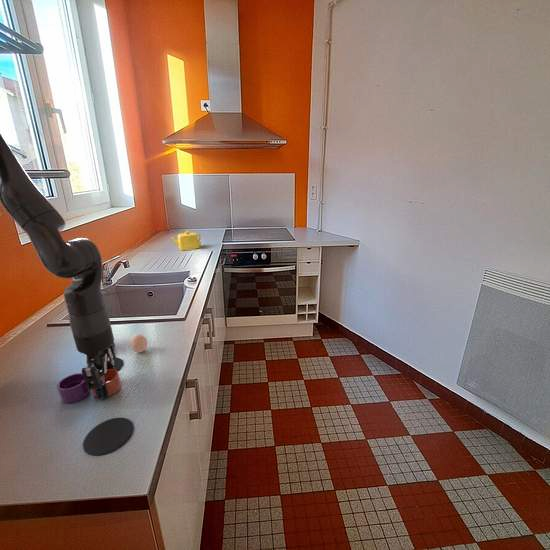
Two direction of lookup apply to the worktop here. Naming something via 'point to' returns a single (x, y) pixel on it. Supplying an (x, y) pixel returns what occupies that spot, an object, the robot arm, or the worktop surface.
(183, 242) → the teapot
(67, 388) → the plum dish
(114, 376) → the clay dish
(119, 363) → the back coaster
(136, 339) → the egg
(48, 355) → the worktop surface
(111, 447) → the front coaster
